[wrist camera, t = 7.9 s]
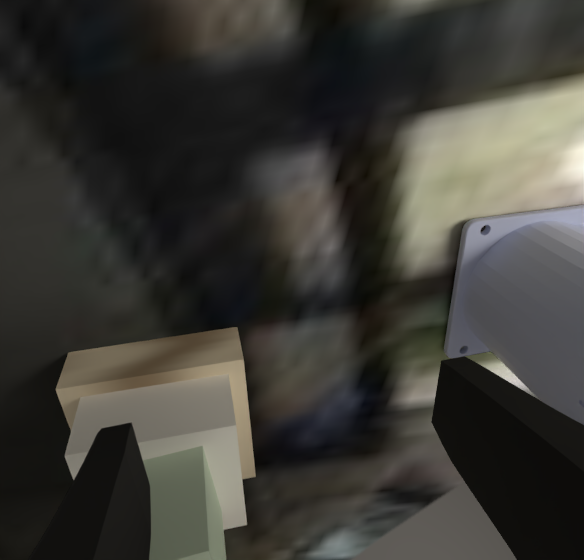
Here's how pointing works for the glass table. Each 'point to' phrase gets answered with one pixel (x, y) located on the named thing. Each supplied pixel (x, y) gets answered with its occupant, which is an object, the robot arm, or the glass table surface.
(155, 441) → the slab top
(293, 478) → the glass table surface
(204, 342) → the slab bottom
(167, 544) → the block
